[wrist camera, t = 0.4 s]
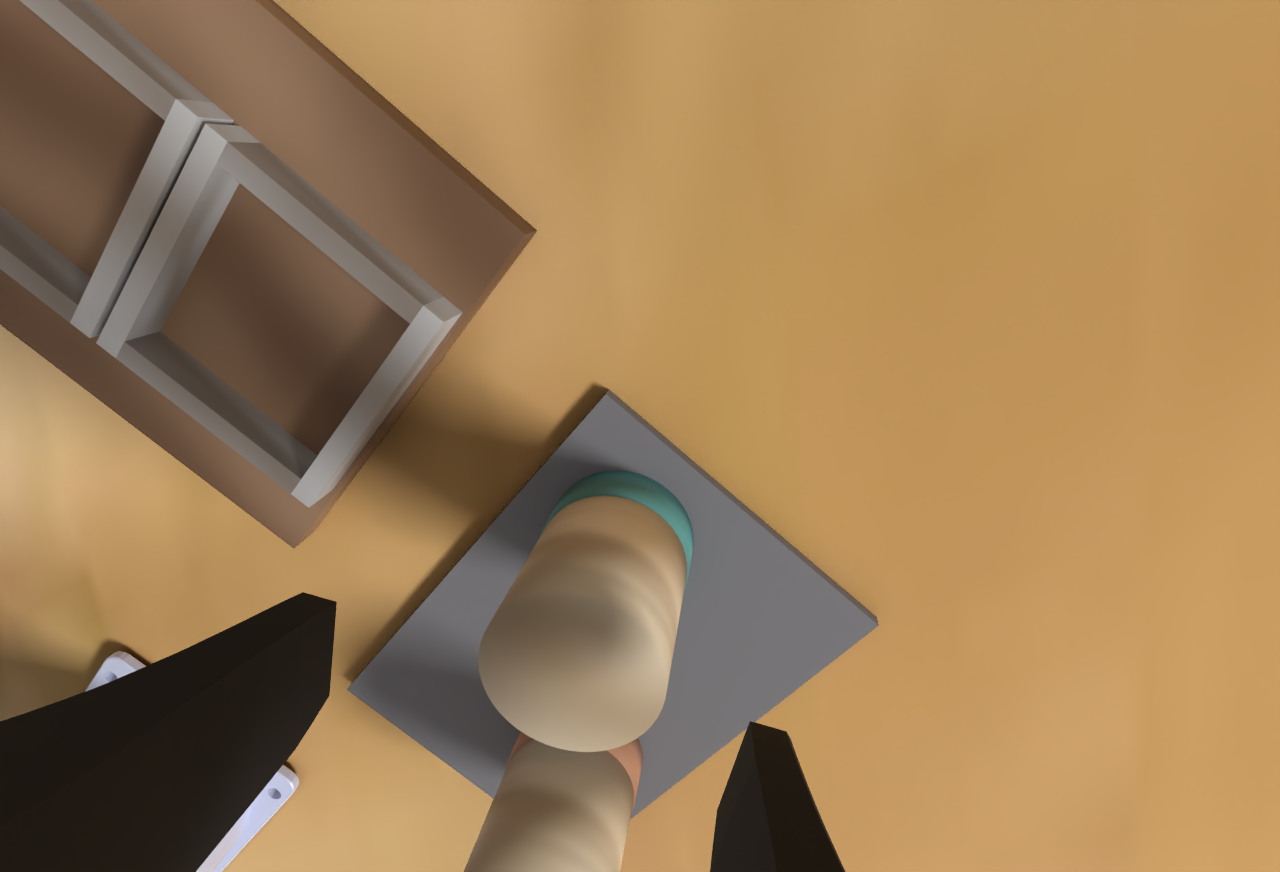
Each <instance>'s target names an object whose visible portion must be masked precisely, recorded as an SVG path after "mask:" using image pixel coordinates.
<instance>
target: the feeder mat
mask: <svg viewBox="0 0 1280 872" xmlns="http://www.w3.org/2000/svg"><path fill="white" fill-rule="evenodd" d="M604 471H627V472H634V473H637V474H641V475H644V476H646V477H648V478H651V479H653V480H655V481H656V482H658V483H660V484H661V485H663V486H664V487H666V488H667V489H668V490H669V491H670V492H671V493H672V494H674V495H675V496H676V498H677V499H678V500H679V501H680V503H681V504H682V505H683V507H684V509H685V510H686V512H687V514H688V517H689V519H690V522H691V525H692V529H693V536H694V546H693V552H692V558H691V564H690V570H689V576H688V582H687V585H686V588H685V591H684V594H683V600H682V606H681V611H680V617H679V623H678V629H677V635H676V640H675V646H674V652H673V658H672V664H671V669H670V675H669V681H668V687H667V693H666V698H665V702H664V705H663V708H662V710H661V712H660V714H659V716H658V718H657V719H656V721H655V722H654V723H653V725H652V726H651V727H650V728H649V729H648V730H647V731H646V732H645V733H644V734H642V735H641V736H639V737H638V739H639V741H640V744H641V747H642V752H643V762H642V768H641V773H640V778H639V784H638V789H637V794H636V799H635V804H634V807H633V810H632V812H631V816H630V819H631V818H633V817H634V816H635V815H636V814H638V813H639V812H640V811H642V810H643V809H644V808H645V807H647V806H648V805H649V804H650V803H652V802H653V801H654V800H656V799H657V798H658V797H659V796H661V795H662V794H663V793H665V792H666V791H667V790H668V789H670V788H671V787H672V786H674V785H675V784H676V783H677V782H679V781H680V780H681V779H683V778H684V777H685V776H686V775H688V774H689V773H690V772H691V771H693V770H694V769H695V768H697V767H698V766H699V765H700V764H702V763H703V762H704V761H706V760H707V759H708V758H709V757H711V756H712V755H713V754H715V753H716V752H717V751H718V750H720V749H721V748H722V747H724V746H725V745H726V744H727V743H729V742H730V741H731V740H732V739H734V738H735V737H736V736H738V735H739V734H740V733H741V732H743V731H744V730H745V729H747V728H748V725H749V722H750V721H751V722H756V721H757V720H758V719H759V718H761V717H762V716H763V715H764V714H766V713H767V712H768V711H770V710H771V709H772V708H773V707H775V706H776V705H777V704H779V703H780V702H781V701H782V700H784V699H785V698H786V697H788V696H789V695H790V694H791V693H793V692H794V691H795V690H797V689H798V688H799V687H800V686H802V685H803V684H804V683H805V682H807V681H808V680H809V679H811V678H812V677H813V676H814V675H816V674H817V673H818V672H820V671H821V670H822V669H823V668H825V667H826V666H827V665H829V664H830V663H831V662H832V661H834V660H835V659H836V658H838V657H839V656H840V655H841V654H843V653H844V652H845V651H846V650H848V649H849V648H850V647H852V646H853V645H854V644H855V643H857V642H858V641H859V640H861V639H862V638H863V637H864V636H866V635H867V634H868V633H870V632H871V631H872V630H873V629H875V628H876V627H877V626H879V625H878V621H877V617H876V616H875V615H873V614H872V613H871V612H870V611H869V610H868V609H866V608H865V607H864V606H863V605H862V604H860V603H859V602H858V601H857V600H856V599H855V598H853V597H852V596H851V595H850V594H849V593H848V592H846V591H845V590H844V589H843V588H842V587H840V586H839V585H838V584H837V583H836V582H835V581H833V580H832V579H831V578H830V577H829V576H828V575H826V574H825V573H824V572H823V571H822V570H820V569H819V568H818V567H817V566H816V565H815V564H813V563H812V562H811V561H810V560H809V559H808V558H806V557H805V556H804V555H803V554H802V553H800V552H799V551H798V550H797V549H796V548H795V547H793V546H792V545H791V544H790V543H789V542H788V541H786V540H785V539H784V538H783V537H782V536H780V535H779V534H778V533H777V532H776V531H775V530H773V529H772V528H771V527H770V526H769V525H768V524H766V523H765V522H764V521H763V520H762V519H760V518H759V517H758V516H757V515H756V514H755V513H753V512H752V511H751V510H750V509H749V508H748V507H746V506H745V505H744V504H743V503H742V502H740V501H739V500H738V499H737V498H736V497H735V496H733V495H732V494H731V493H730V492H729V491H728V490H726V489H725V488H724V487H723V486H722V485H721V484H719V483H718V482H717V481H716V480H715V479H713V478H712V477H711V476H710V475H709V474H708V473H706V472H705V471H704V470H703V469H702V468H701V467H699V466H698V465H697V464H696V463H695V462H693V461H692V460H691V459H690V458H689V457H688V456H686V455H685V454H684V453H683V452H682V451H681V450H679V449H678V448H677V447H676V446H675V445H673V444H672V443H671V442H670V441H669V440H668V439H666V438H665V437H664V436H663V435H662V434H661V433H659V432H658V431H657V430H656V429H655V428H653V427H652V426H651V425H650V424H649V423H648V422H646V421H645V420H644V419H643V418H642V417H641V416H639V415H638V414H637V413H636V412H635V411H633V410H632V409H631V408H630V407H629V406H628V405H626V404H625V403H624V402H623V401H622V400H621V399H619V398H618V397H617V396H616V395H615V394H613V393H612V392H611V391H610V390H608V391H607V392H606V394H605V395H604V396H603V397H602V398H601V399H600V400H599V402H598V403H597V404H596V405H595V406H594V407H593V408H592V410H591V411H590V412H589V413H588V414H587V415H586V416H585V418H584V419H583V420H582V421H581V422H580V423H579V424H578V426H577V427H576V428H575V429H574V430H573V431H572V432H571V434H570V435H569V436H568V437H567V438H566V439H565V440H564V442H563V443H562V444H561V445H560V446H559V447H558V448H557V450H556V451H555V452H554V453H553V454H552V455H551V456H550V457H549V459H548V460H547V461H546V462H545V463H544V464H543V465H542V467H541V468H540V469H539V470H538V471H537V472H536V473H535V475H534V476H533V477H532V478H531V479H530V480H529V481H528V483H527V484H526V485H525V486H524V487H523V488H522V489H521V491H520V492H519V493H518V494H517V495H516V496H515V497H514V499H513V500H512V501H511V502H510V503H509V504H508V505H507V507H506V508H505V509H504V510H503V511H502V512H501V513H500V515H499V516H498V517H497V518H496V519H495V520H494V521H493V523H492V524H491V525H490V526H489V527H488V528H487V529H486V531H485V532H484V533H483V534H482V535H481V536H480V537H479V538H478V540H477V541H476V542H475V543H474V544H473V545H472V546H471V548H470V549H469V550H468V551H467V552H466V553H465V554H464V556H463V557H462V558H461V559H460V560H459V561H458V562H457V564H456V565H455V566H454V567H453V568H452V569H451V570H450V572H449V573H448V574H447V575H446V576H445V577H444V578H443V580H442V581H441V582H440V583H439V584H438V585H437V586H436V588H435V589H434V590H433V591H432V592H431V593H430V594H429V596H428V597H427V598H426V599H425V600H424V601H423V602H422V604H421V605H420V606H419V607H418V608H417V609H416V610H415V612H414V613H413V614H412V615H411V616H410V617H409V618H408V619H407V621H406V622H405V623H404V624H403V625H402V626H401V627H400V629H399V630H398V631H397V632H396V633H395V634H394V635H393V637H392V638H391V639H390V640H389V641H388V642H387V643H386V645H385V646H384V647H383V648H382V649H381V650H380V651H379V653H378V654H377V655H376V656H375V657H374V658H373V659H372V661H371V662H370V663H369V664H368V665H367V666H366V667H365V669H364V670H363V671H362V672H361V673H360V674H359V675H358V677H357V678H356V679H355V680H354V681H353V682H352V684H351V685H350V686H349V687H348V689H347V690H348V691H350V692H351V693H352V694H354V695H355V696H356V697H358V698H359V699H360V700H362V701H363V702H364V703H366V704H367V705H368V706H370V707H371V708H372V709H374V710H375V711H377V712H378V713H379V714H381V715H382V716H383V717H385V718H386V719H387V720H389V721H390V722H391V723H393V724H394V725H395V726H397V727H398V728H399V729H401V730H402V731H403V732H405V733H406V734H407V735H409V736H410V737H411V738H413V739H414V740H416V741H417V742H418V743H420V744H421V745H422V746H424V747H425V748H426V749H428V750H429V751H430V752H432V753H433V754H434V755H436V756H437V757H438V758H440V759H441V760H442V761H444V762H445V763H446V764H448V765H449V766H451V767H452V768H453V769H455V770H456V771H457V772H459V773H460V774H461V775H463V776H464V777H465V778H467V779H468V780H469V781H471V782H472V783H473V784H475V785H476V786H477V787H479V788H480V789H481V790H483V791H484V792H485V793H487V794H488V795H490V796H491V797H492V798H494V797H495V795H496V792H497V790H498V788H499V785H500V783H501V780H502V778H503V776H504V773H505V769H506V764H507V762H508V759H509V757H510V755H511V752H512V750H513V747H514V745H515V743H516V740H517V738H518V735H519V733H520V730H518V729H517V728H515V727H514V726H513V725H512V724H511V723H509V722H508V721H507V720H506V719H505V718H504V717H503V716H502V715H501V714H500V713H499V711H498V710H497V709H496V707H495V706H494V705H493V703H492V702H491V700H490V699H489V697H488V695H487V693H486V691H485V689H484V686H483V684H482V681H481V677H480V673H479V665H478V653H479V648H480V643H481V640H482V637H483V634H484V632H485V631H486V629H487V627H488V625H489V624H490V622H491V620H492V618H493V617H494V615H495V613H496V612H497V610H498V608H499V606H500V605H501V603H502V601H503V600H504V598H505V596H506V594H507V593H508V591H509V589H510V588H511V586H512V584H513V582H514V581H515V579H516V577H517V576H518V574H519V572H520V570H521V569H522V567H523V565H524V564H525V562H526V560H527V558H528V557H529V555H530V553H531V552H532V550H533V548H534V546H535V545H536V543H537V541H538V540H539V536H540V534H541V531H542V529H543V527H544V526H545V524H546V522H547V520H548V519H549V517H550V515H551V514H552V512H553V510H554V508H555V507H556V505H557V503H558V502H559V500H560V498H561V497H562V496H563V494H564V493H565V492H566V491H567V490H568V489H569V488H570V487H571V486H572V485H573V484H575V483H576V482H578V481H579V480H581V479H583V478H585V477H587V476H590V475H592V474H595V473H600V472H604Z"/></svg>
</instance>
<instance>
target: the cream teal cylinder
mask: <svg viewBox="0 0 1280 872" xmlns="http://www.w3.org/2000/svg"><path fill="white" fill-rule="evenodd" d="M693 546H694V536H693V529H692V525H691V522H690V519H689V517H688V514H687V512H686V510H685V509H684V507H683V505H682V504H681V503H680V501H679V500H678V499H677V498H676V496H675V495H674V494H672V493H671V492H670V491H669V490H668V489H667V488H666V487H664V486H663V485H661V484H660V483H658V482H656V481H655V480H653V479H651V478H648V477H646V476H644V475H641V474H637V473H634V472H627V471H604V472H600V473H595V474H592V475H590V476H587V477H585V478H583V479H581V480H579V481H578V482H576V483H575V484H573V485H572V486H571V487H570V488H569V489H568V490H567V491H566V492H565V493H564V494H563V496H562V497H561V498H560V500H559V502H558V503H557V505H556V507H555V508H554V510H553V512H552V514H551V515H550V517H549V519H548V520H547V522H546V524H545V526H544V527H543V529H542V531H541V534H540V536H539V540H538V541H537V543H536V545H535V546H534V548H533V550H532V552H531V553H530V555H529V557H528V558H527V560H526V562H525V564H524V565H523V567H522V569H521V570H520V572H519V574H518V576H517V577H516V579H515V581H514V582H513V584H512V586H511V588H510V589H509V591H508V593H507V594H506V596H505V598H504V600H503V601H502V603H501V605H500V606H499V608H498V610H497V612H496V613H495V615H494V617H493V618H492V620H491V622H490V624H489V625H488V627H487V629H486V631H485V632H484V634H483V637H482V640H481V643H480V648H479V653H478V665H479V673H480V677H481V681H482V684H483V686H484V689H485V691H486V693H487V695H488V697H489V699H490V700H491V702H492V703H493V705H494V706H495V707H496V709H497V710H498V711H499V713H500V714H501V715H502V716H503V717H504V718H505V719H506V720H507V721H508V722H509V723H511V724H512V725H513V726H514V727H515V728H517V729H518V730H520V731H521V732H523V733H524V734H526V735H527V736H529V737H531V738H533V739H535V740H537V741H539V742H541V743H544V744H546V745H549V746H552V747H556V748H559V749H564V750H569V751H577V752H597V751H605V750H610V749H614V748H617V747H620V746H623V745H625V744H628V743H629V742H631V741H633V740H635V739H637V738H638V737H639V736H641V735H642V734H644V733H645V732H646V731H647V730H648V729H649V728H650V727H651V726H652V725H653V723H654V722H655V721H656V719H657V718H658V716H659V714H660V712H661V710H662V708H663V705H664V702H665V698H666V693H667V687H668V681H669V675H670V669H671V664H672V658H673V652H674V646H675V640H676V635H677V629H678V623H679V617H680V611H681V606H682V600H683V594H684V591H685V588H686V585H687V582H688V576H689V570H690V564H691V558H692V552H693Z"/></svg>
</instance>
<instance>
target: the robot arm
mask: <svg viewBox="0 0 1280 872" xmlns="http://www.w3.org/2000/svg"><path fill="white" fill-rule="evenodd" d="M336 603H337V602H335V601H331V600H328V599H324V598H321V597H317V596H314V595H310V594H307V593H304V592H303V593H301V594H298V595H296V596H294V597H292V598H290V599H288V600H285V601H283V602H281V603H279V604H277V605H275V606H273V607H271V608H269V609H267V610H265V611H263V612H261V613H259V614H257V615H255V616H253V617H251V618H249V619H247V620H245V621H243V622H241V623H239V624H237V625H235V626H233V627H231V628H228V629H226V630H224V631H222V632H220V633H218V634H216V635H214V636H212V637H210V638H207V639H205V640H203V641H201V642H199V643H197V644H195V645H193V646H191V647H189V648H187V649H184V650H182V651H180V652H178V653H176V654H173V655H171V656H169V657H167V658H164V659H162V660H160V661H157V662H155V663H153V664H150V665H148V666H145V665H144V664H143V663H141V662H140V661H138V660H137V659H136V658H134V657H133V656H131V655H130V654H128V653H126V652H122V651H117V652H114V653H113V654H112V655H110V656H109V657H108V658H107V659H105V661H104V662H103V664H102V665H101V667H100V668H99V670H98V672H97V673H96V675H95V676H94V678H93V679H92V681H91V682H90V684H89V686H88V687H87V689H86V690H85V692H83V693H81V694H78V695H75V696H73V697H70V698H67V699H65V700H62V701H59V702H56V703H53V704H51V705H48V706H45V707H42V708H39V709H36V710H34V711H31V712H28V713H25V714H22V715H19V716H16V717H13V718H10V719H7V720H4V721H0V872H222V870H223V869H224V868H225V867H226V866H227V865H228V864H229V863H230V862H231V861H232V860H233V858H234V857H235V856H236V855H237V854H238V853H239V852H240V851H241V850H242V849H243V848H244V846H245V845H246V844H247V843H248V842H249V841H250V840H251V839H252V838H253V837H254V835H255V834H256V833H257V832H258V831H259V830H260V829H261V828H262V827H263V826H264V825H265V823H266V822H267V821H268V820H269V819H270V818H271V817H272V816H273V815H274V814H275V813H276V811H277V810H278V809H279V808H280V807H281V806H282V805H283V804H284V803H285V802H286V800H287V799H288V798H289V797H290V796H291V795H292V794H293V793H294V791H295V790H296V789H297V787H298V785H299V779H298V777H297V775H296V774H295V773H294V772H293V771H291V770H290V769H289V768H287V767H286V766H284V765H283V764H284V763H285V762H286V760H287V759H288V758H289V756H290V755H291V754H292V753H293V751H294V750H295V749H296V747H297V746H298V744H299V743H300V741H301V740H302V738H303V736H304V735H305V733H306V732H307V730H308V729H309V727H310V726H311V724H312V723H313V721H314V719H315V718H316V716H317V714H318V713H319V711H320V710H321V708H322V706H323V705H324V703H325V701H326V700H327V698H328V697H329V693H330V680H331V667H332V654H333V641H334V629H335V616H336ZM710 872H845V870H844V868H843V866H842V864H841V861H840V859H839V857H838V855H837V853H836V850H835V848H834V846H833V844H832V841H831V839H830V837H829V835H828V833H827V830H826V828H825V826H824V824H823V821H822V819H821V817H820V814H819V812H818V809H817V807H816V805H815V802H814V800H813V797H812V795H811V792H810V790H809V787H808V785H807V782H806V779H805V777H804V774H803V772H802V769H801V766H800V764H799V761H798V758H797V756H796V753H795V750H794V747H793V744H792V742H791V739H790V737H789V735H788V734H787V732H786V731H782V730H779V729H775V728H772V727H769V726H765V725H762V724H758V723H755V722H751V721H750V722H749V725H748V728H747V731H746V733H745V736H744V739H743V741H742V744H741V747H740V750H739V752H738V755H737V758H736V761H735V763H734V766H733V769H732V771H731V774H730V777H729V780H728V782H727V785H726V788H725V791H724V793H723V796H722V799H721V801H720V804H719V807H718V810H717V817H716V825H715V833H714V842H713V850H712V860H711V869H710Z"/></svg>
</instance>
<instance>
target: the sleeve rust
mask: <svg viewBox="0 0 1280 872" xmlns="http://www.w3.org/2000/svg"><path fill="white" fill-rule="evenodd" d="M642 762H643V752H642V747H641V744H640V741H639V739H638V738H637V739H635V740H633V741H631V742H629V743H628V744H625V745H623V746H620V747H617V748H614V749H610V750H605V751H597V752H577V751H569V750H564V749H559V748H556V747H552V746H549V745H546V744H544V743H541V742H539V741H537V740H535V739H533V738H531V737H529V736H527V735H526V734H524V733H523V732H521V731H520V733H519V735H518V738H517V740H516V743H515V745H514V747H513V750H512V752H511V755H510V757H509V759H508V762H507V764H506V769H505V773H504V776H503V778H502V780H501V783H500V785H499V788H498V790H497V792H496V795H495V797H494V800H493V802H492V805H491V807H490V809H489V812H488V814H487V817H486V819H485V821H484V824H483V826H482V829H481V831H480V834H479V836H478V838H477V841H476V843H475V846H474V848H473V850H472V853H471V855H470V858H469V860H468V862H467V865H466V867H465V870H464V872H620V868H621V863H622V858H623V852H624V847H625V842H626V837H627V832H628V827H629V822H630V816H631V812H632V810H633V807H634V804H635V799H636V794H637V789H638V784H639V778H640V773H641V768H642Z"/></svg>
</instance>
